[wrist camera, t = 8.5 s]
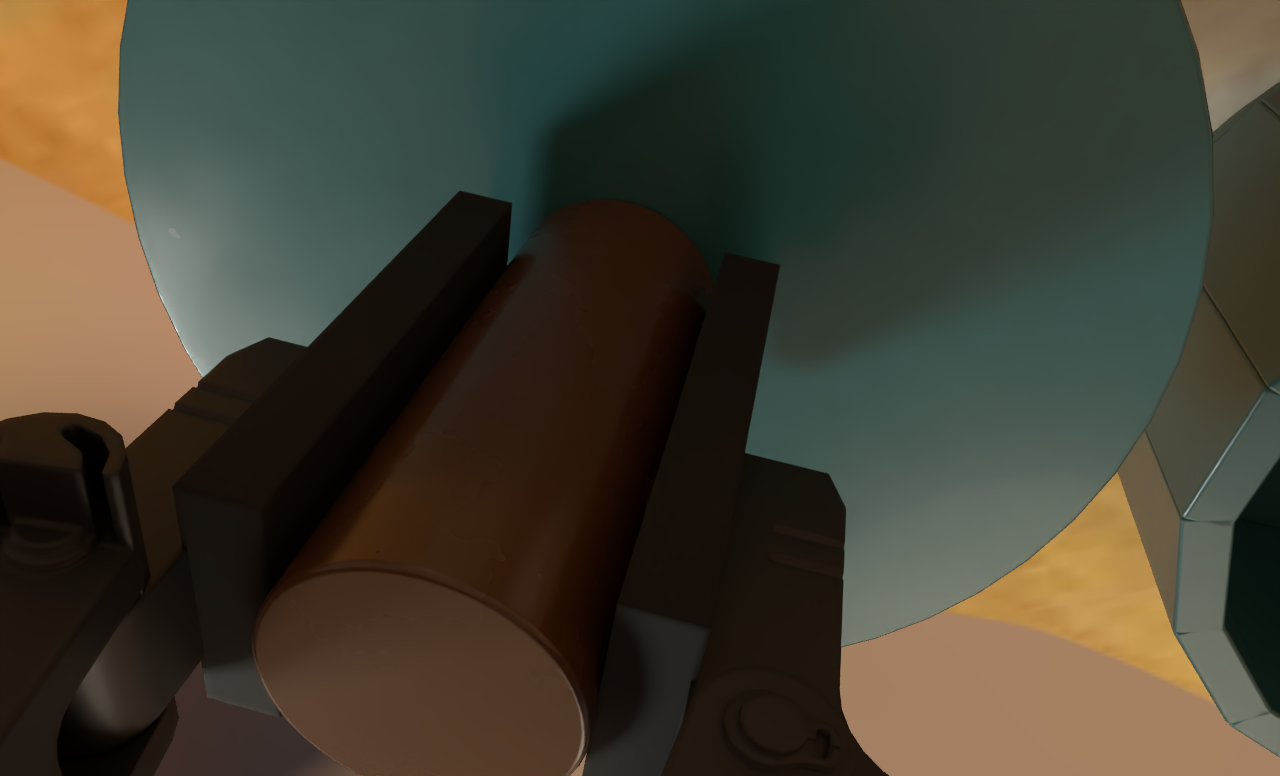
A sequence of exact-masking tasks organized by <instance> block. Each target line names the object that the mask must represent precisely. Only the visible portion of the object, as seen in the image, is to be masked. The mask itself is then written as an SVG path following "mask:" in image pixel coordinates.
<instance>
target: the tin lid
mask: <svg viewBox="0 0 1280 776" xmlns="http://www.w3.org/2000/svg"><path fill="white" fill-rule="evenodd" d="M118 115H119V125H120V135H121V145H122V155H123V165H124V175H125V180H126V184H127V189H128V193H129V198H130V202H131V206H132V211H133V215H134V220H135V224H136V229H137V233H138V237H139V240H140V243H141V246H142V248H143V251H144V254H145V257H146V260H147V263H148V266H149V269H150V272H151V275H152V277H153V280H154V283H155V286H156V289H157V292H158V294H159V297H160V299H161V301H162V303H163V305H164V307H165V309H166V311H167V313H168V315H169V317H170V320H171V322H172V324H173V326H174V328H175V330H176V332H177V334H178V337H179V338H180V341H181V343H182V345H183V347H184V349H185V350H186V352H187V354H188V355H189V357H190V358H191V360H192V362H193V364H194V365H195V367H196V368H197V370H198V372H199V373H200V375H201V377H202V378H203V377H204V376H205V375H206V374H208V373H209V372H210V371H211V370H212V369H213V368H214V367H215V366H216V365H217V364H218V363H220V362H221V361H222V360H223V359H224V358H225V357H226V356H227V355H230V354H232V353H234V352H236V351H239V350H241V349H243V348H245V347H248V346H250V345H252V344H254V343H257V342H259V341H261V340H263V339H266V338H268V337H270V338H274V339H278V340H282V341H286V342H290V343H294V344H298V345H302V346H306V347H308V346H309V345H310V344H311V343H312V342H313V341H314V340H315V339H316V338H317V337H318V336H319V335H320V334H321V333H322V332H323V331H324V329H325V328H326V327H327V326H328V325H329V324H330V323H331V322H332V321H333V320H334V319H335V318H336V317H337V316H338V315H339V314H340V313H341V312H342V311H343V310H344V309H345V308H346V307H347V306H348V305H349V304H350V303H351V302H352V301H353V300H354V299H355V298H356V297H357V296H358V295H359V294H360V292H361V291H362V290H363V289H364V288H365V287H366V286H367V285H368V284H369V283H370V282H371V281H372V280H373V279H374V278H375V277H376V276H377V275H378V274H379V273H380V272H381V271H382V270H383V269H384V268H385V267H386V266H387V265H388V264H389V263H390V262H391V261H392V260H393V259H394V258H395V257H396V255H397V254H398V253H399V252H400V251H401V250H402V249H403V248H404V247H405V246H406V245H407V244H408V243H409V242H410V241H411V240H412V239H413V238H414V237H415V236H416V235H417V234H418V233H419V232H420V231H421V230H422V229H423V228H424V227H425V226H426V225H427V224H428V223H429V222H430V221H431V219H432V218H433V217H434V216H435V215H436V214H437V213H438V212H439V211H440V210H441V209H442V208H443V207H444V206H445V205H446V204H447V203H448V202H449V201H450V200H451V199H452V198H453V197H454V196H455V195H456V194H457V193H458V192H459V191H464V192H468V193H473V194H477V195H481V196H486V197H490V198H494V199H499V200H503V201H507V202H511V203H512V214H511V226H510V238H509V250H508V262H507V267H506V268H505V270H504V271H503V273H502V274H501V275H500V277H499V278H498V279H497V281H496V282H495V284H494V285H493V286H492V288H491V289H490V290H489V292H488V293H487V294H486V296H485V297H484V299H483V300H482V301H481V303H480V304H479V305H478V307H477V308H476V310H475V311H474V312H473V314H472V315H471V316H470V318H469V319H468V320H467V322H466V323H465V325H464V326H463V327H462V329H461V330H460V331H459V333H458V334H457V336H456V337H455V338H454V340H453V341H452V342H451V344H450V345H449V346H448V348H447V349H446V351H445V352H444V353H443V355H442V356H441V357H440V359H439V360H438V362H437V363H436V364H435V366H434V367H433V368H432V370H431V371H430V372H429V374H428V375H427V377H426V378H425V379H424V381H423V382H422V383H421V385H420V386H419V388H418V389H417V390H416V392H415V393H414V394H413V396H412V397H411V398H410V400H409V401H408V403H407V404H406V405H405V407H404V408H403V409H402V411H401V412H400V414H399V415H398V416H397V418H396V419H395V420H394V422H393V423H392V424H391V426H390V427H389V429H388V430H387V431H386V433H385V434H384V435H383V437H382V438H381V440H380V441H379V442H378V444H377V445H376V446H375V448H374V449H373V450H372V452H371V453H370V455H369V456H368V457H367V459H366V460H365V461H364V463H363V464H362V466H361V467H360V468H359V470H358V471H357V472H356V474H355V475H354V476H353V478H352V479H351V481H350V482H349V483H348V485H347V486H346V487H345V489H344V490H343V492H342V493H341V494H340V496H339V497H338V498H337V500H336V501H335V502H334V504H333V505H332V507H331V508H330V509H329V511H328V512H327V513H326V515H325V516H324V518H323V519H322V520H321V522H320V523H319V524H318V526H317V527H316V528H315V530H314V531H313V533H312V534H311V535H310V537H309V538H308V539H307V541H306V542H305V544H304V545H303V546H302V548H301V549H300V550H299V552H298V553H297V555H296V556H295V557H294V559H293V560H292V561H291V563H290V564H289V565H288V567H287V568H286V570H285V571H284V572H283V574H282V575H281V576H280V578H279V579H278V581H277V582H276V583H275V585H274V586H273V587H272V589H271V590H270V591H269V593H268V594H267V596H266V597H265V599H264V600H263V601H262V603H261V605H260V607H259V610H258V612H257V615H256V618H255V623H254V629H253V635H252V648H253V656H254V661H255V665H256V669H257V671H258V674H259V677H260V679H261V682H262V684H263V685H264V687H265V689H266V691H267V693H268V695H269V697H270V698H271V699H272V701H273V702H274V704H275V705H276V707H277V708H278V709H279V711H280V712H281V713H282V714H283V716H284V717H285V718H286V719H287V720H288V721H289V722H290V724H291V725H292V726H293V727H294V728H295V729H296V730H297V731H299V733H300V734H301V735H303V736H304V737H305V738H306V739H307V740H308V741H309V742H311V743H312V744H313V745H314V746H315V747H317V748H318V749H319V750H320V751H322V752H323V753H324V754H326V755H327V756H329V757H330V758H332V759H333V760H335V761H336V762H338V763H339V764H341V765H343V766H344V767H346V768H348V769H349V770H351V771H353V772H354V773H356V774H358V775H360V776H570V775H571V774H572V773H573V772H574V771H575V770H576V768H577V767H578V766H579V765H580V763H581V762H582V760H583V758H584V756H585V755H586V753H587V750H588V747H589V743H590V740H591V737H592V733H593V730H594V726H595V723H596V720H597V716H598V708H599V691H600V686H601V681H602V676H603V671H604V666H605V661H606V656H607V651H608V646H609V641H610V636H611V631H612V626H613V621H614V617H615V612H616V607H617V603H618V599H619V596H620V593H621V589H622V586H623V583H624V580H625V576H626V573H627V570H628V567H629V563H630V560H631V557H632V554H633V550H634V547H635V544H636V541H637V537H638V534H639V531H640V527H641V524H642V521H643V518H644V514H645V511H646V508H647V505H648V501H649V498H650V495H651V492H652V488H653V485H654V482H655V479H656V475H657V472H658V469H659V465H660V462H661V459H662V456H663V452H664V449H665V446H666V443H667V439H668V436H669V433H670V430H671V426H672V423H673V420H674V417H675V413H676V410H677V407H678V403H679V400H680V397H681V394H682V390H683V387H684V384H685V381H686V377H687V374H688V371H689V368H690V364H691V361H692V358H693V355H694V351H695V348H696V345H697V342H698V338H699V335H700V332H701V328H702V325H703V322H704V319H705V315H706V312H707V309H708V306H709V302H710V299H711V296H712V293H713V289H714V286H715V283H716V280H717V276H718V273H719V270H720V266H721V263H722V260H723V257H724V253H725V252H727V253H731V254H736V255H740V256H744V257H749V258H753V259H757V260H762V261H766V262H770V263H774V264H779V265H780V268H779V274H778V279H777V284H776V290H775V295H774V300H773V306H772V311H771V316H770V322H769V327H768V332H767V338H766V343H765V348H764V354H763V359H762V364H761V369H760V375H759V380H758V385H757V391H756V396H755V401H754V407H753V412H752V417H751V423H750V428H749V433H748V439H747V444H746V449H745V453H748V454H752V455H756V456H760V457H764V458H768V459H772V460H776V461H780V462H784V463H788V464H792V465H796V466H800V467H804V468H808V469H812V470H816V471H820V472H824V473H828V474H829V475H830V477H831V479H832V481H833V483H834V485H835V487H836V489H837V491H838V493H839V495H840V497H841V499H842V501H843V503H844V505H845V507H846V530H845V545H844V550H845V557H844V574H843V578H842V580H844V584H843V611H842V638H841V647H844V646H848V645H852V644H855V643H860V642H863V641H867V640H871V639H875V638H878V637H881V636H883V635H886V634H889V633H891V632H894V631H896V630H899V629H902V628H904V627H907V626H910V625H913V624H915V623H918V622H921V621H923V620H926V619H928V618H931V617H932V616H934V615H936V614H938V613H940V612H942V611H944V610H946V609H948V608H950V607H952V606H954V605H956V604H958V603H960V602H962V601H964V600H966V599H968V598H970V597H972V596H974V595H976V594H978V593H980V592H981V591H982V590H984V589H985V588H987V587H988V586H990V585H991V584H993V583H994V582H996V581H997V580H999V579H1000V578H1002V577H1003V576H1005V575H1006V574H1008V573H1009V572H1011V571H1012V570H1014V569H1015V568H1017V567H1018V566H1020V565H1021V564H1023V563H1024V562H1026V561H1027V560H1029V559H1030V558H1031V557H1032V556H1033V555H1035V554H1036V553H1037V552H1038V551H1039V550H1040V549H1041V548H1043V547H1044V546H1045V545H1046V544H1047V543H1048V542H1050V541H1051V540H1052V539H1053V538H1054V537H1055V536H1057V535H1058V534H1059V533H1060V532H1061V531H1062V530H1063V529H1065V528H1066V527H1067V526H1068V525H1069V524H1070V523H1072V522H1073V521H1074V520H1075V519H1076V517H1077V516H1078V515H1079V514H1080V513H1081V512H1082V511H1083V510H1084V509H1085V507H1086V506H1087V505H1088V504H1089V503H1090V502H1091V501H1092V500H1093V498H1094V497H1095V496H1096V495H1097V494H1098V493H1099V492H1100V491H1101V489H1102V488H1103V487H1104V486H1105V485H1106V484H1107V483H1108V482H1109V480H1110V479H1111V478H1112V477H1113V476H1114V475H1115V474H1116V472H1117V471H1118V469H1119V468H1120V466H1121V465H1122V463H1123V462H1124V460H1125V459H1126V457H1127V456H1128V454H1129V453H1130V451H1131V450H1132V448H1133V447H1134V445H1135V444H1136V442H1137V441H1138V439H1139V438H1140V436H1141V435H1142V433H1143V432H1144V430H1145V429H1146V428H1147V426H1148V425H1149V423H1150V422H1151V420H1152V418H1153V416H1154V414H1155V412H1156V410H1157V408H1158V405H1159V403H1160V401H1161V399H1162V397H1163V395H1164V393H1165V391H1166V389H1167V387H1168V385H1169V383H1170V381H1171V378H1172V376H1173V374H1174V372H1175V370H1176V368H1177V366H1178V364H1179V362H1180V360H1181V357H1182V354H1183V351H1184V348H1185V344H1186V341H1187V338H1188V335H1189V332H1190V328H1191V325H1192V322H1193V319H1194V315H1195V312H1196V309H1197V306H1198V302H1199V299H1200V296H1201V293H1202V290H1203V283H1204V276H1205V270H1206V263H1207V256H1208V249H1209V243H1210V236H1211V229H1212V223H1213V216H1214V202H1213V134H1212V128H1211V122H1210V116H1209V110H1208V104H1207V98H1206V92H1205V87H1204V81H1203V75H1202V69H1201V63H1200V57H1199V52H1198V49H1197V46H1196V44H1195V41H1194V38H1193V35H1192V32H1191V29H1190V26H1189V23H1188V20H1187V17H1186V14H1185V11H1184V8H1183V5H1182V3H1181V0H128V2H127V8H126V14H125V20H124V26H123V32H122V38H121V44H120V68H119V103H118Z"/></svg>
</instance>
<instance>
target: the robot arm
mask: <svg viewBox="0 0 1280 776" xmlns="http://www.w3.org/2000/svg"><path fill="white" fill-rule="evenodd" d="M511 214H512V203H511V202H507V201H503V200H499V199H494V198H490V197H486V196H481V195H477V194H473V193H468V192H464V191H459V192H458V193H457V194H456V195H455V196H454V197H453V198H452V199H451V200H450V201H449V202H448V203H447V204H446V205H445V206H444V207H443V208H442V209H441V210H440V211H439V212H438V213H437V214H436V215H435V216H434V217H433V218H432V219H431V221H430V222H429V223H428V224H427V225H426V226H425V227H424V228H423V229H422V230H421V231H420V232H419V233H418V234H417V235H416V236H415V237H414V238H413V239H412V240H411V241H410V242H409V243H408V244H407V245H406V246H405V247H404V248H403V249H402V250H401V251H400V252H399V253H398V254H397V255H396V257H395V258H394V259H393V260H392V261H391V262H390V263H389V264H388V265H387V266H386V267H385V268H384V269H383V270H382V271H381V272H380V273H379V274H378V275H377V276H376V277H375V278H374V279H373V280H372V281H371V282H370V283H369V284H368V285H367V286H366V287H365V288H364V289H363V290H362V291H361V292H360V294H359V295H358V296H357V297H356V298H355V299H354V300H353V301H352V302H351V303H350V304H349V305H348V306H347V307H346V308H345V309H344V310H343V311H342V312H341V313H340V314H339V315H338V316H337V317H336V318H335V319H334V320H333V321H332V322H331V323H330V324H329V325H328V326H327V327H326V328H325V329H324V331H323V332H322V333H321V334H320V335H319V336H318V337H317V338H316V339H315V340H314V341H313V342H312V343H311V344H310V345H309V346H308V347H306V346H302V345H298V344H294V343H290V342H286V341H282V340H278V339H274V338H270V337H268V338H266V339H263V340H261V341H259V342H257V343H254V344H252V345H250V346H248V347H245V348H243V349H241V350H239V351H236V352H234V353H232V354H230V355H227V356H226V357H225V358H224V359H223V360H222V361H221V362H220V363H218V364H217V365H216V366H215V367H214V368H213V369H212V370H211V371H210V372H209V373H208V374H206V375H205V376H204V377H203V378H202V379H201V380H200V381H199V382H198V387H197V388H195V387H192V388H191V389H190V390H189V391H188V392H187V393H186V394H185V395H183V396H182V397H181V398H180V399H179V400H178V401H177V402H176V403H175V407H174V409H173V410H171V409H168V410H167V411H166V412H165V413H164V414H163V415H162V416H161V417H159V418H158V419H157V420H156V421H155V422H154V423H153V424H152V425H151V426H150V427H148V428H147V429H146V430H145V431H144V432H143V433H142V434H141V435H140V436H139V437H137V438H136V439H135V440H134V441H133V442H132V443H131V444H130V445H129V446H128V447H127V448H125V445H124V441H123V438H122V436H121V435H120V434H119V433H118V432H117V431H116V430H114V429H113V428H112V427H111V426H110V425H108V424H107V423H106V422H104V421H101V420H98V419H94V418H91V417H88V416H84V415H81V414H77V413H47V412H46V413H45V412H44V413H38V414H32V415H26V416H20V417H14V418H8V419H5V420H3V421H0V776H154V774H155V772H156V770H157V768H158V766H159V765H160V763H161V761H162V759H163V757H164V755H165V753H166V751H167V749H168V747H169V746H170V744H171V741H172V740H173V736H174V732H175V729H176V726H177V722H178V719H179V716H178V711H177V707H176V701H175V694H176V693H177V692H178V690H179V689H180V687H181V686H182V685H183V684H184V682H185V681H186V680H187V678H188V677H189V676H190V674H191V673H192V672H193V670H194V669H195V668H196V666H197V665H198V664H199V662H200V661H201V662H202V668H203V674H204V680H205V686H206V692H207V697H209V698H212V699H216V700H220V701H223V702H226V703H230V704H233V705H237V706H241V707H244V708H247V709H251V710H254V711H258V712H262V713H265V714H269V715H272V716H276V717H279V718H281V716H282V713H281V712H280V711H279V709H278V708H277V707H276V705H275V704H274V702H273V701H272V699H271V698H270V697H269V695H268V693H267V691H266V689H265V687H264V685H263V684H262V682H261V679H260V677H259V674H258V671H257V669H256V665H255V661H254V656H253V648H252V635H253V629H254V623H255V618H256V615H257V612H258V610H259V607H260V605H261V603H262V601H263V600H264V599H265V597H266V596H267V594H268V593H269V591H270V590H271V589H272V587H273V586H274V585H275V583H276V582H277V581H278V579H279V578H280V576H281V575H282V574H283V572H284V571H285V570H286V568H287V567H288V565H289V564H290V563H291V561H292V560H293V559H294V557H295V556H296V555H297V553H298V552H299V550H300V549H301V548H302V546H303V545H304V544H305V542H306V541H307V539H308V538H309V537H310V535H311V534H312V533H313V531H314V530H315V528H316V527H317V526H318V524H319V523H320V522H321V520H322V519H323V518H324V516H325V515H326V513H327V512H328V511H329V509H330V508H331V507H332V505H333V504H334V502H335V501H336V500H337V498H338V497H339V496H340V494H341V493H342V492H343V490H344V489H345V487H346V486H347V485H348V483H349V482H350V481H351V479H352V478H353V476H354V475H355V474H356V472H357V471H358V470H359V468H360V467H361V466H362V464H363V463H364V461H365V460H366V459H367V457H368V456H369V455H370V453H371V452H372V450H373V449H374V448H375V446H376V445H377V444H378V442H379V441H380V440H381V438H382V437H383V435H384V434H385V433H386V431H387V430H388V429H389V427H390V426H391V424H392V423H393V422H394V420H395V419H396V418H397V416H398V415H399V414H400V412H401V411H402V409H403V408H404V407H405V405H406V404H407V403H408V401H409V400H410V398H411V397H412V396H413V394H414V393H415V392H416V390H417V389H418V388H419V386H420V385H421V383H422V382H423V381H424V379H425V378H426V377H427V375H428V374H429V372H430V371H431V370H432V368H433V367H434V366H435V364H436V363H437V362H438V360H439V359H440V357H441V356H442V355H443V353H444V352H445V351H446V349H447V348H448V346H449V345H450V344H451V342H452V341H453V340H454V338H455V337H456V336H457V334H458V333H459V331H460V330H461V329H462V327H463V326H464V325H465V323H466V322H467V320H468V319H469V318H470V316H471V315H472V314H473V312H474V311H475V310H476V308H477V307H478V305H479V304H480V303H481V301H482V300H483V299H484V297H485V296H486V294H487V293H488V292H489V290H490V289H491V288H492V286H493V285H494V284H495V282H496V281H497V279H498V278H499V277H500V275H501V274H502V273H503V271H504V270H505V268H506V267H507V262H508V250H509V238H510V226H511ZM779 268H780V265H779V264H774V263H770V262H766V261H762V260H757V259H753V258H749V257H744V256H740V255H736V254H731V253H727V252H725V253H724V257H723V260H722V263H721V266H720V270H719V273H718V276H717V280H716V283H715V286H714V289H713V293H712V296H711V299H710V302H709V306H708V309H707V312H706V315H705V319H704V322H703V325H702V328H701V332H700V335H699V338H698V342H697V345H696V348H695V351H694V355H693V358H692V361H691V364H690V368H689V371H688V374H687V377H686V381H685V384H684V387H683V390H682V394H681V397H680V400H679V403H678V407H677V410H676V413H675V417H674V420H673V423H672V426H671V430H670V433H669V436H668V439H667V443H666V446H665V449H664V452H663V456H662V459H661V462H660V465H659V469H658V472H657V475H656V479H655V482H654V485H653V488H652V492H651V495H650V498H649V501H648V505H647V508H646V511H645V514H644V518H643V521H642V524H641V527H640V531H639V534H638V537H637V541H636V544H635V547H634V550H633V554H632V557H631V560H630V563H629V567H628V570H627V573H626V576H625V580H624V583H623V586H622V589H621V593H620V596H619V599H618V603H617V607H616V612H615V617H614V621H613V626H612V631H611V636H610V641H609V646H608V651H607V656H606V661H605V666H604V671H603V676H602V681H601V686H600V691H599V708H598V716H597V720H596V723H595V726H594V730H593V733H592V737H591V740H590V743H589V747H588V750H587V755H586V760H585V765H584V770H583V775H582V776H889V775H888V774H886V773H885V772H883V771H882V770H881V769H880V768H879V767H878V766H877V765H876V764H875V763H874V762H873V761H872V759H871V758H869V756H868V755H867V754H865V752H864V751H863V750H862V748H861V747H860V745H859V744H858V742H857V741H856V739H855V738H854V736H853V735H852V733H851V731H850V729H849V727H848V724H847V722H846V719H845V717H844V714H843V711H842V707H841V698H840V664H841V638H842V611H843V584H844V580H842V578H843V574H844V557H845V550H844V545H845V530H846V507H845V505H844V503H843V501H842V499H841V497H840V495H839V493H838V491H837V489H836V487H835V485H834V483H833V481H832V479H831V477H830V475H829V474H828V473H824V472H820V471H816V470H812V469H808V468H804V467H800V466H796V465H792V464H788V463H784V462H780V461H776V460H772V459H768V458H764V457H760V456H756V455H752V454H748V453H745V449H746V444H747V439H748V433H749V428H750V423H751V417H752V412H753V407H754V401H755V396H756V391H757V385H758V380H759V375H760V369H761V364H762V359H763V354H764V348H765V343H766V338H767V332H768V327H769V322H770V316H771V311H772V306H773V300H774V295H775V290H776V284H777V279H778V274H779Z"/></svg>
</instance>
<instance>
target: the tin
mask: <svg viewBox="0 0 1280 776" xmlns="http://www.w3.org/2000/svg"><path fill="white" fill-rule="evenodd" d="M1212 134H1213V202H1214V216H1213V223H1212V229H1211V236H1210V243H1209V249H1208V256H1207V263H1206V270H1205V276H1204V283H1203V290H1202V293H1201V296H1200V299H1199V302H1198V306H1197V309H1196V312H1195V315H1194V319H1193V322H1192V325H1191V328H1190V332H1189V335H1188V338H1187V341H1186V344H1185V348H1184V351H1183V354H1182V357H1181V360H1180V362H1179V364H1178V366H1177V368H1176V370H1175V372H1174V374H1173V376H1172V378H1171V381H1170V383H1169V385H1168V387H1167V389H1166V391H1165V393H1164V395H1163V397H1162V399H1161V401H1160V403H1159V405H1158V408H1157V410H1156V412H1155V414H1154V416H1153V418H1152V420H1151V422H1150V423H1149V425H1148V426H1147V428H1146V429H1145V430H1144V432H1143V433H1142V435H1141V436H1140V438H1139V439H1138V441H1137V442H1136V444H1135V445H1134V447H1133V448H1132V450H1131V451H1130V453H1129V454H1128V456H1127V457H1126V459H1125V460H1124V462H1123V463H1122V465H1121V466H1120V468H1119V469H1118V474H1119V477H1120V479H1121V482H1122V485H1123V488H1124V491H1125V494H1126V497H1127V500H1128V503H1129V505H1130V508H1131V511H1132V514H1133V517H1134V520H1135V523H1136V526H1137V529H1138V531H1139V534H1140V537H1141V540H1142V543H1143V546H1144V549H1145V552H1146V554H1147V557H1148V560H1149V563H1150V566H1151V569H1152V572H1153V575H1154V578H1155V580H1156V583H1157V586H1158V589H1159V592H1160V595H1161V598H1162V601H1163V604H1164V606H1165V609H1166V612H1167V615H1168V618H1169V621H1170V624H1171V627H1172V629H1173V632H1174V635H1175V636H1176V638H1177V640H1178V642H1179V643H1180V645H1181V647H1182V648H1183V650H1184V652H1185V653H1186V655H1187V657H1188V658H1189V660H1190V662H1191V663H1192V665H1193V667H1194V669H1195V670H1196V672H1197V674H1198V675H1199V677H1200V679H1201V680H1202V682H1203V684H1204V685H1205V687H1206V689H1207V691H1208V692H1209V694H1210V696H1211V697H1212V699H1213V701H1214V702H1215V704H1216V706H1217V707H1218V709H1219V711H1220V712H1221V714H1222V716H1223V717H1224V719H1225V721H1226V722H1228V723H1229V724H1230V725H1231V726H1232V727H1233V728H1235V729H1236V730H1238V731H1239V732H1241V733H1242V734H1244V735H1245V736H1247V737H1249V738H1250V739H1252V740H1253V741H1255V742H1256V743H1258V744H1260V745H1261V746H1263V747H1264V748H1266V749H1267V750H1269V751H1271V752H1272V753H1274V754H1275V755H1277V756H1278V757H1280V83H1278V84H1277V85H1275V86H1274V87H1272V88H1271V89H1270V90H1268V91H1267V92H1265V93H1264V94H1262V95H1261V96H1260V97H1258V98H1257V99H1255V100H1254V101H1252V102H1251V103H1250V104H1248V105H1247V106H1245V107H1244V108H1242V109H1241V110H1240V111H1238V112H1237V113H1235V114H1234V115H1233V116H1232V117H1231V118H1229V119H1228V120H1227V121H1226V122H1225V123H1224V124H1222V125H1221V126H1220V127H1219V128H1218V129H1217V130H1216V131H1214V132H1213V133H1212Z"/></svg>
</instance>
